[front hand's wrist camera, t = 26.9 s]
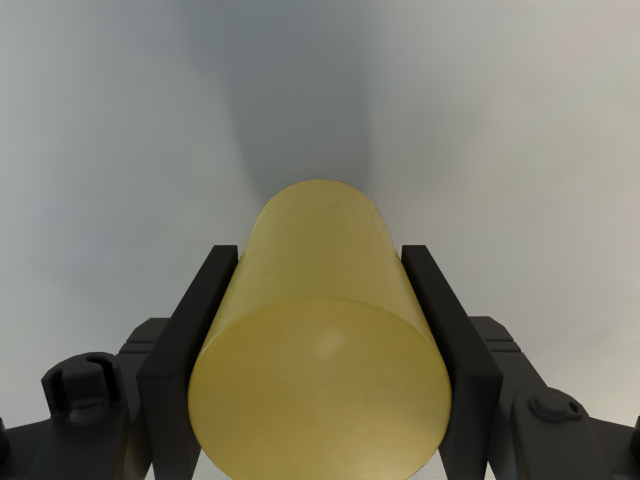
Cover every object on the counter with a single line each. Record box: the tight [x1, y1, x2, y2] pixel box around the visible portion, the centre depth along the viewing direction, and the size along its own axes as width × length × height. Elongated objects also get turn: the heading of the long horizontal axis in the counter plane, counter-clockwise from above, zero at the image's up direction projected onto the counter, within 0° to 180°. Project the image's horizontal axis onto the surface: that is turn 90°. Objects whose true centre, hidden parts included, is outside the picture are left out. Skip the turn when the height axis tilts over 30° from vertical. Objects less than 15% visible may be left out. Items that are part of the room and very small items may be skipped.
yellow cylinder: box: [187, 179, 452, 480], centre depth 13 cm, size 5×5×9 cm
